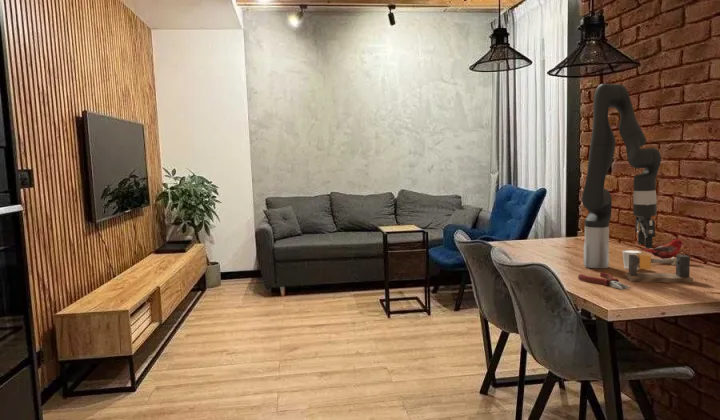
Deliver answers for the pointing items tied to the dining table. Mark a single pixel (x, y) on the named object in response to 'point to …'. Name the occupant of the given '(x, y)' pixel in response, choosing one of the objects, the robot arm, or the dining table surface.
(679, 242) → the decorative bird figurine
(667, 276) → the stand
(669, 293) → the dining table surface
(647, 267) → the marker sleeve
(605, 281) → the pliers
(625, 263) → the white cup
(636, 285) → the dining table surface
